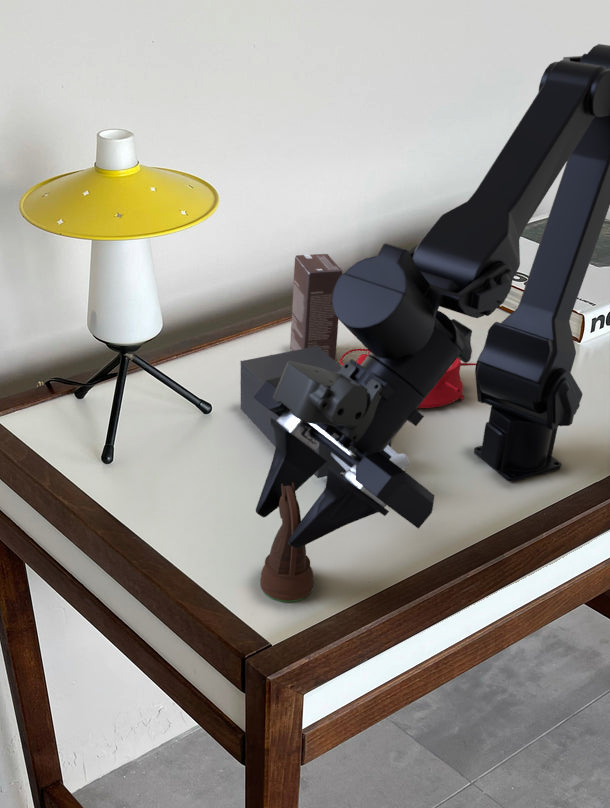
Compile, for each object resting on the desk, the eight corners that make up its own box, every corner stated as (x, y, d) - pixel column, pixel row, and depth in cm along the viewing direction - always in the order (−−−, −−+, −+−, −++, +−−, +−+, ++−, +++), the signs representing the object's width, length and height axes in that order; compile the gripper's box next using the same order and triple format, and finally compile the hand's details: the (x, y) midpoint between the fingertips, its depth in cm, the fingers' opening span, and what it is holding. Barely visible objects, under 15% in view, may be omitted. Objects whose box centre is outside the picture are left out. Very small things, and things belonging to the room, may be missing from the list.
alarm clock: (459, 391, 108) (335, 335, 112) (440, 437, 112) (321, 382, 116) (487, 353, 116) (371, 302, 120) (469, 398, 120) (356, 347, 124)
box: (338, 365, 122) (343, 269, 115) (301, 369, 121) (305, 273, 114) (323, 344, 127) (328, 251, 120) (288, 348, 126) (291, 254, 119)
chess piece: (307, 566, 89) (311, 470, 84) (320, 603, 85) (325, 504, 80) (256, 572, 89) (256, 476, 83) (266, 609, 85) (267, 510, 79)
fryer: (364, 438, 108) (368, 389, 104) (284, 457, 105) (286, 407, 101) (315, 392, 116) (317, 345, 113) (240, 408, 113) (240, 360, 110)
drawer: (415, 485, 99) (419, 448, 96) (341, 504, 96) (344, 466, 94) (340, 414, 110) (342, 380, 108) (272, 430, 108) (273, 395, 105)
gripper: (275, 285, 82) (158, 437, 84) (418, 376, 69) (276, 555, 70) (349, 352, 90) (241, 490, 92) (491, 446, 76) (361, 605, 78)
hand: (275, 530), depth 83 cm, fingers closed on chess piece, 5 cm apart
